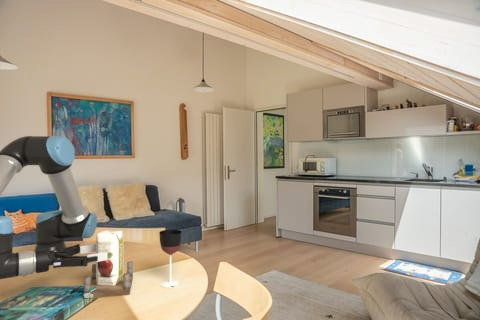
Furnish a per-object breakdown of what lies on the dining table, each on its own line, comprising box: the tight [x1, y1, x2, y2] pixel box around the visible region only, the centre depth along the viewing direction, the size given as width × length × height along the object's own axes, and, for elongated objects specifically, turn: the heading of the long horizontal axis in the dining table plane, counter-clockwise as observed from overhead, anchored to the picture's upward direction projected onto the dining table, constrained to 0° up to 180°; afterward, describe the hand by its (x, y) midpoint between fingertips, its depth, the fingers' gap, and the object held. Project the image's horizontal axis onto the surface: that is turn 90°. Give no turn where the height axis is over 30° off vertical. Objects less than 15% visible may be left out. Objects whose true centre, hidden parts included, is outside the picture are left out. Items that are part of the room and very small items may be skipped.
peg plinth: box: [83, 260, 134, 299], centre depth 121 cm, size 16×15×7 cm
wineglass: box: [159, 229, 182, 288], centre depth 125 cm, size 8×9×20 cm
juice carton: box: [95, 229, 125, 286], centre depth 121 cm, size 8×9×19 cm
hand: (102, 251), depth 119 cm, fingers open, 13 cm apart
